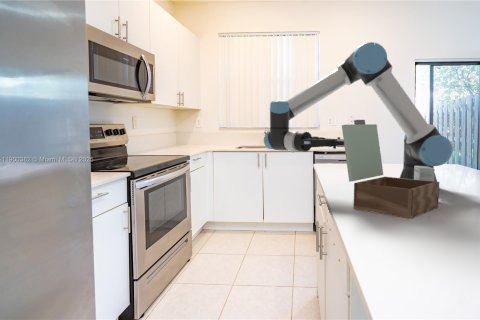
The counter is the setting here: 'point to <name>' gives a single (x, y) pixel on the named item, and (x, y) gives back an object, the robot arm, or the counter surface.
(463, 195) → the counter surface
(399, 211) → the wooden box
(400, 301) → the counter surface
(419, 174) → the ink box
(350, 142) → the lid
